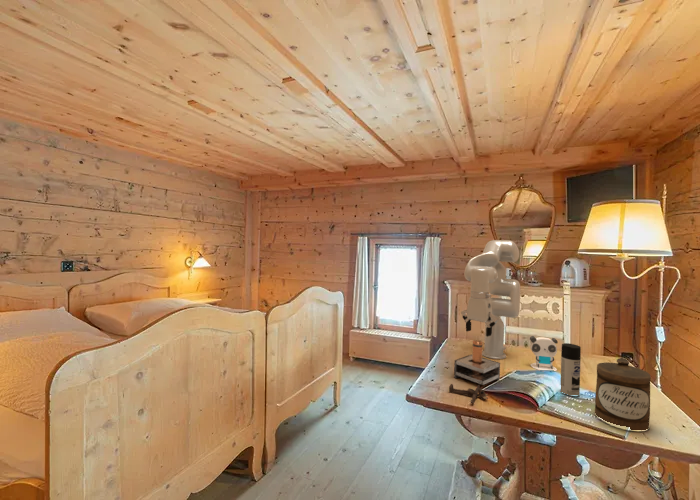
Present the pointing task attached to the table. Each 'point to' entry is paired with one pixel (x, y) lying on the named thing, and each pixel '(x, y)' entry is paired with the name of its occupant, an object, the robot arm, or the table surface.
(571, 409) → the table surface
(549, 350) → the panda figurine
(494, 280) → the robot arm
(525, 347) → the table surface
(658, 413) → the table surface
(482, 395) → the bear figurine
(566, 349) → the spray can
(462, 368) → the frame
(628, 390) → the wooden container
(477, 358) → the tube
